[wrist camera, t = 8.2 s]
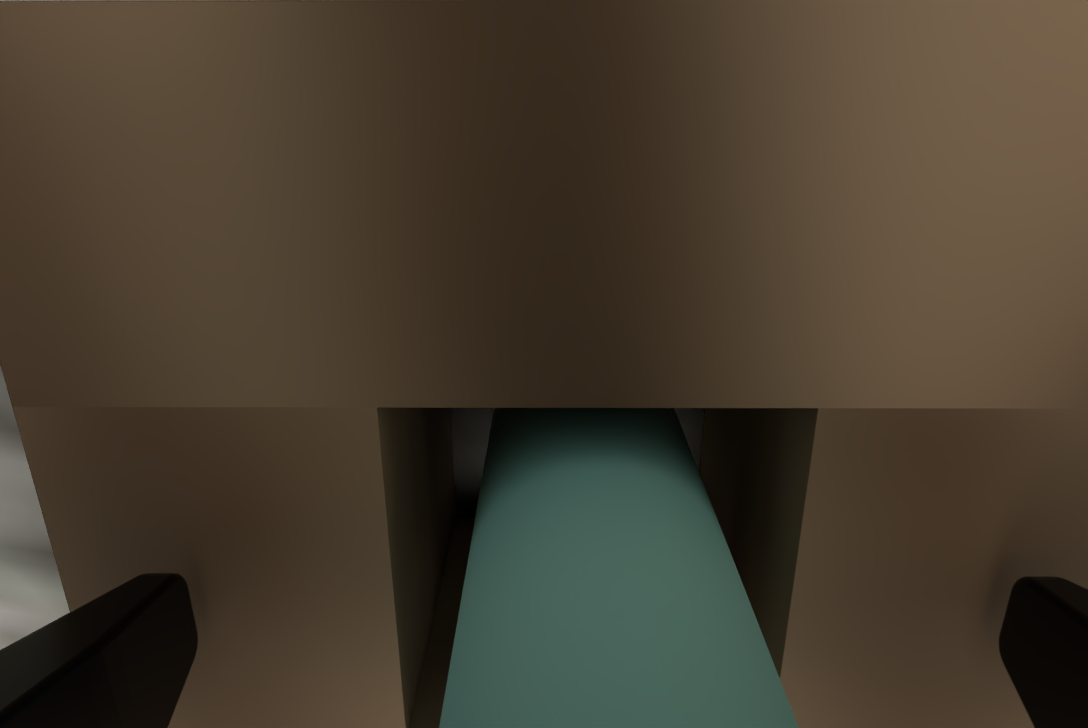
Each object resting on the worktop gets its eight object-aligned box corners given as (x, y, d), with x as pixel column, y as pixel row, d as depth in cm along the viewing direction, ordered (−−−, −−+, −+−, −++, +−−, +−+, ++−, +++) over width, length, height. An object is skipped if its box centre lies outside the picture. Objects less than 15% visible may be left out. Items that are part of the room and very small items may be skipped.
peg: (671, 324, 12) (928, 823, 4) (661, 480, 13) (848, 1137, 5) (493, 323, 12) (377, 819, 4) (498, 479, 13) (412, 1132, 5)
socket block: (990, 36, 11) (1328, -4, 6) (866, 677, 15) (1010, 945, 10) (178, 38, 11) (-102, 1, 6) (281, 674, 15) (161, 938, 10)
